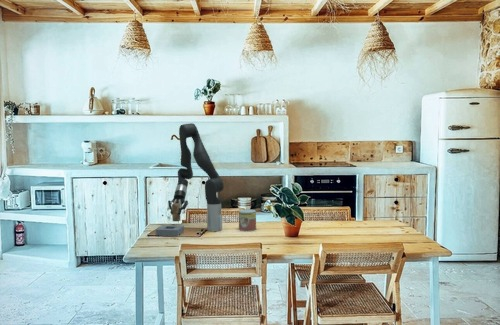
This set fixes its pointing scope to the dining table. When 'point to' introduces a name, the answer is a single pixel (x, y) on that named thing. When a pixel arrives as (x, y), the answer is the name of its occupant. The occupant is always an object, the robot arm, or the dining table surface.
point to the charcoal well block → (169, 230)
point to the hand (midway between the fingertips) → (175, 214)
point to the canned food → (247, 220)
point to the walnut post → (175, 212)
